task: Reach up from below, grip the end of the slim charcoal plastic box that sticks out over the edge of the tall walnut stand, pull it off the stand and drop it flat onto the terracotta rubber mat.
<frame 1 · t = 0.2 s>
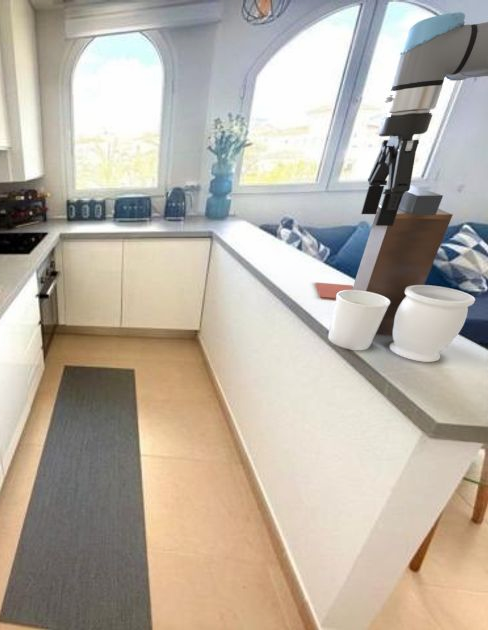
hand: (375, 219, 79), 28 cm above the table, tool pointing down, fingers open, 13 cm apart
jar: (412, 353, 79), on the table
slim box: (407, 207, 82), point 30 cm above the table, touching stand
mat: (336, 292, 112), on the table
white flower pot: (347, 342, 85), on the table
stand: (371, 324, 92), on the table
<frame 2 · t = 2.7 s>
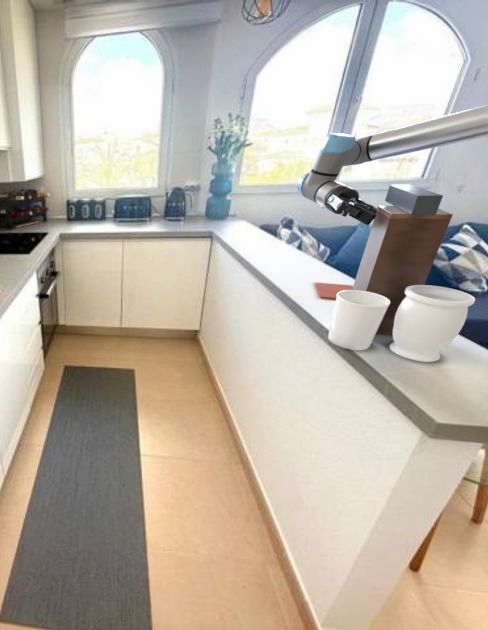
hand: (393, 226, 87), 25 cm above the table, tool horizontal, fingers open, 13 cm apart
nothing on the table moved.
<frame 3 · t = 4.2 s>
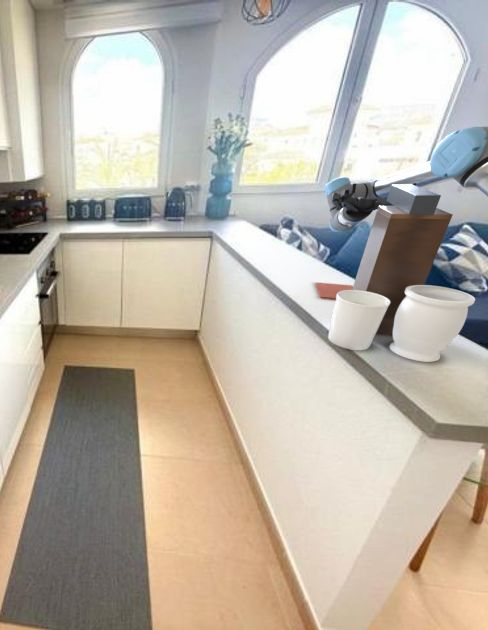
hand: (383, 187, 99), 32 cm above the table, tool pointing upward, fingers open, 13 cm apart
nothing on the table moved.
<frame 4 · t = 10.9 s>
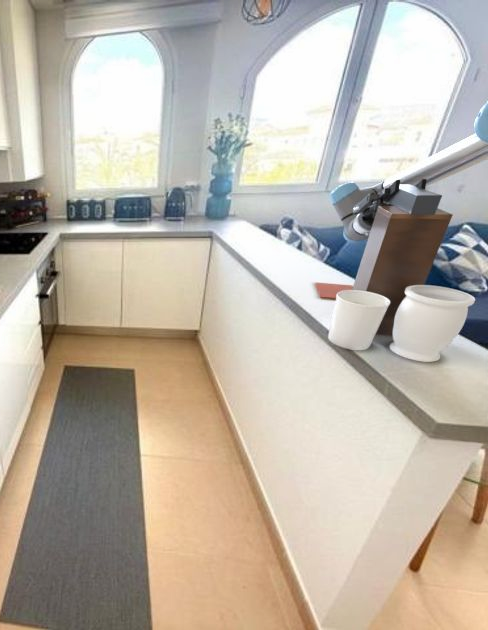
hand: (410, 185, 82), 35 cm above the table, tool pointing upward, fingers closed on slim box, 4 cm apart
slim box: (406, 207, 82), point 30 cm above the table, touching gripper, stand
everything else where it was.
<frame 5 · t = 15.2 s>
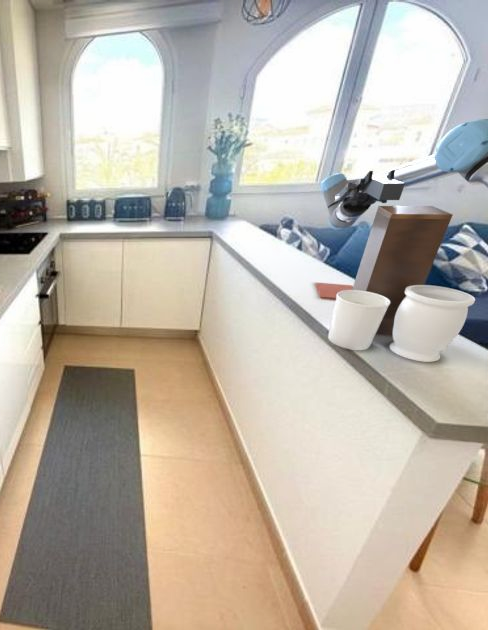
hand: (381, 175, 94), 36 cm above the table, tool pointing upward, fingers closed on slim box, 4 cm apart
slim box: (378, 194, 94), point 31 cm above the table, touching gripper
everything else where it was.
when the fingers open (22 cm above the table, at t = 19.5 s): slim box drops 16 cm, resting on mat.
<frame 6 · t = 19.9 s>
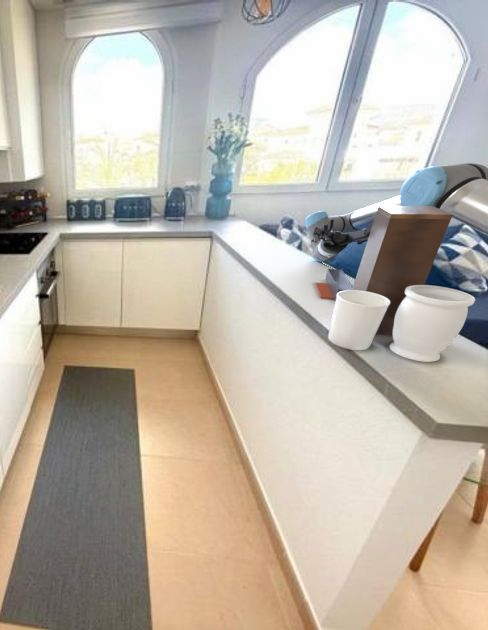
hand: (352, 224, 105), 21 cm above the table, tool pointing upward, fingers open, 10 cm apart
slim box: (337, 290, 112), point 1 cm above the table, touching mat
everything else where it was.
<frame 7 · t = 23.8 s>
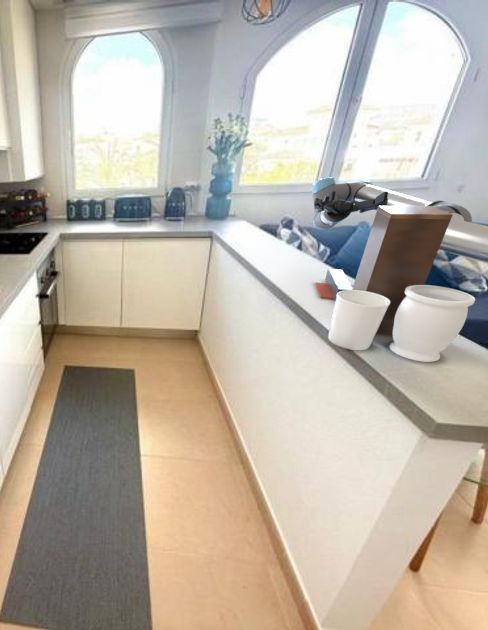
hand: (359, 195, 109), 28 cm above the table, tool pointing upward, fingers open, 13 cm apart
nothing on the table moved.
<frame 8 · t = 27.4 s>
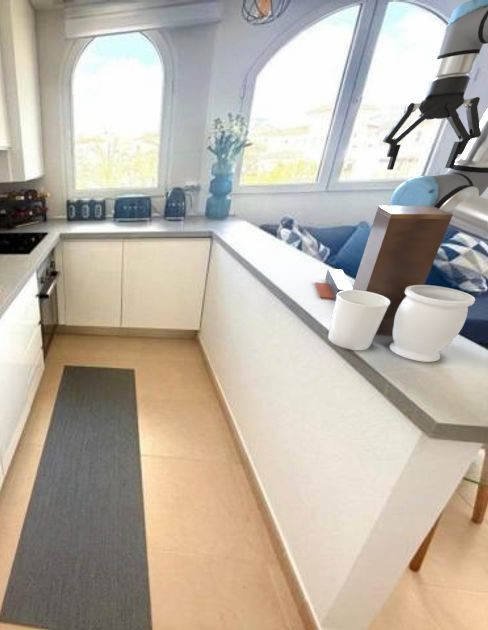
hand: (418, 168, 97), 36 cm above the table, tool pointing down, fingers open, 12 cm apart
nothing on the table moved.
at the end: slim box inside the target area on the mat (0.5 cm from its centre), point 0.6 cm above the mat's base; slim box point 0.6 cm above the table; the gripper is holding nothing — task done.
